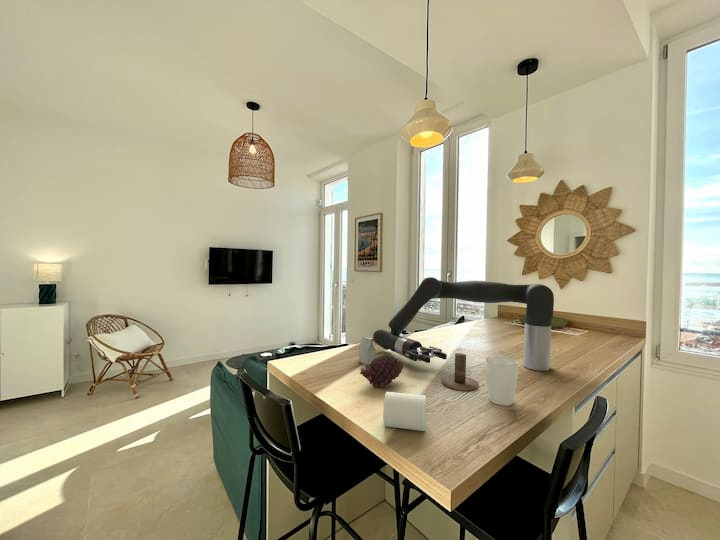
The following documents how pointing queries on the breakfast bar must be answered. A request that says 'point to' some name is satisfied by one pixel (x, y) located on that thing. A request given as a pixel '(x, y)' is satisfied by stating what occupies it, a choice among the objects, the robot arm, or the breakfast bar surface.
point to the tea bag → (366, 351)
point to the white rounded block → (405, 411)
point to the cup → (501, 379)
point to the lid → (460, 376)
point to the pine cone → (382, 370)
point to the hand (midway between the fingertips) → (438, 358)
